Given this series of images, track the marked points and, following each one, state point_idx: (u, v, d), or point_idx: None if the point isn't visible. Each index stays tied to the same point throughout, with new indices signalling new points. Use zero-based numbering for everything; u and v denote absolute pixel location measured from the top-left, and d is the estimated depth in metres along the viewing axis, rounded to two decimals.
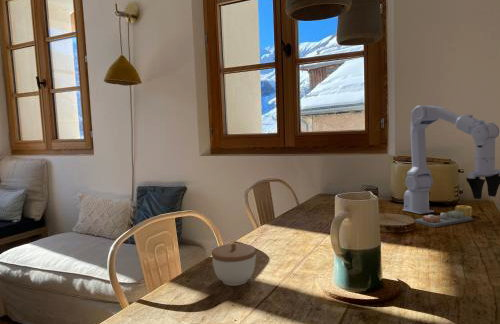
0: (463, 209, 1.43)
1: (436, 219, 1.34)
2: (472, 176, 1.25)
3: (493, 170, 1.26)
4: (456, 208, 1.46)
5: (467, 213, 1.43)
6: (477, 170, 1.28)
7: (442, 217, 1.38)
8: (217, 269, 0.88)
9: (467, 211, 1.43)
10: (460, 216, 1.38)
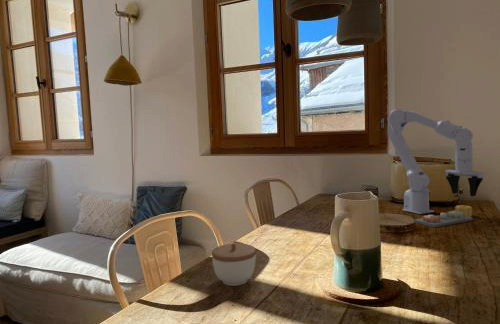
0: (463, 209, 1.43)
1: (436, 219, 1.34)
2: None
3: (459, 170, 1.43)
4: (456, 208, 1.46)
5: (467, 213, 1.43)
6: None
7: (442, 217, 1.38)
8: (217, 269, 0.88)
9: (467, 211, 1.43)
10: (460, 216, 1.38)
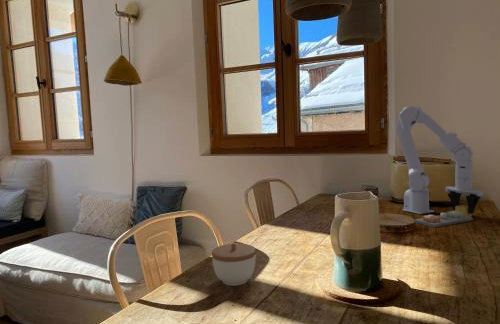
0: (463, 209, 1.43)
1: (436, 219, 1.34)
2: None
3: (459, 188, 1.43)
4: (456, 208, 1.46)
5: (467, 213, 1.43)
6: None
7: (442, 217, 1.38)
8: (217, 269, 0.88)
9: (467, 211, 1.43)
10: (460, 216, 1.38)
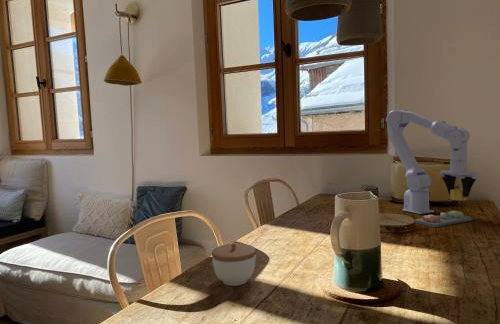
0: (458, 192, 1.41)
1: (436, 219, 1.34)
2: None
3: (454, 171, 1.41)
4: (451, 192, 1.44)
5: (462, 196, 1.41)
6: None
7: (442, 217, 1.38)
8: (217, 269, 0.88)
9: (462, 194, 1.41)
10: (460, 216, 1.38)
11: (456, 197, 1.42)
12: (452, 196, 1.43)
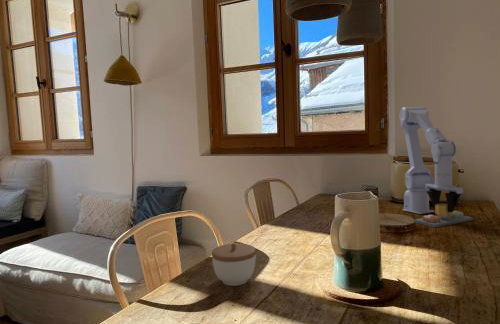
0: (443, 207, 1.36)
1: (436, 219, 1.34)
2: None
3: (438, 185, 1.36)
4: (436, 206, 1.39)
5: (447, 211, 1.36)
6: None
7: (442, 217, 1.38)
8: (217, 269, 0.88)
9: (447, 209, 1.36)
10: (460, 216, 1.38)
11: (440, 212, 1.37)
12: (437, 211, 1.38)
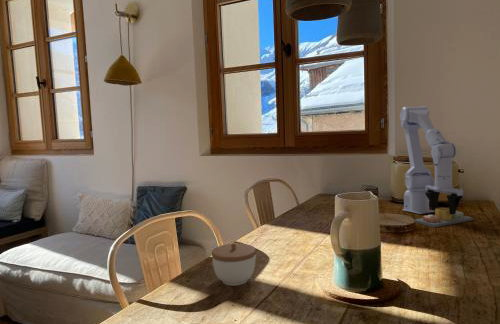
0: (443, 212, 1.36)
1: (436, 219, 1.34)
2: None
3: (438, 187, 1.36)
4: (436, 211, 1.39)
5: (447, 216, 1.36)
6: None
7: None
8: (217, 269, 0.88)
9: (447, 214, 1.36)
10: (460, 216, 1.38)
11: (440, 217, 1.37)
12: (437, 215, 1.38)
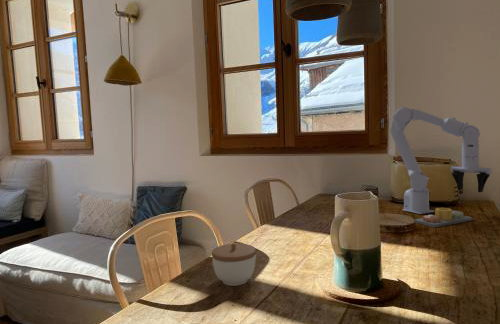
0: (443, 212, 1.36)
1: (436, 219, 1.34)
2: None
3: (467, 167, 1.44)
4: (436, 211, 1.39)
5: (447, 216, 1.36)
6: None
7: None
8: (217, 269, 0.88)
9: (447, 214, 1.36)
10: (460, 216, 1.38)
11: (440, 217, 1.37)
12: (437, 215, 1.38)
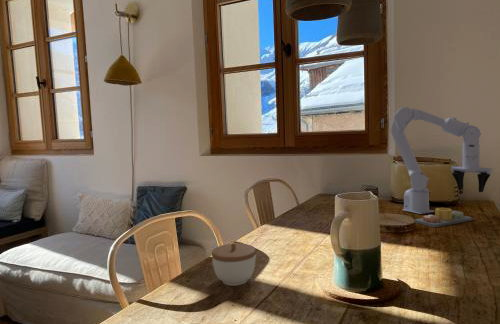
0: (443, 212, 1.36)
1: (436, 219, 1.34)
2: None
3: (467, 167, 1.44)
4: (436, 211, 1.39)
5: (447, 216, 1.36)
6: None
7: None
8: (217, 269, 0.88)
9: (447, 214, 1.36)
10: (460, 216, 1.38)
11: (440, 217, 1.37)
12: (437, 215, 1.38)
